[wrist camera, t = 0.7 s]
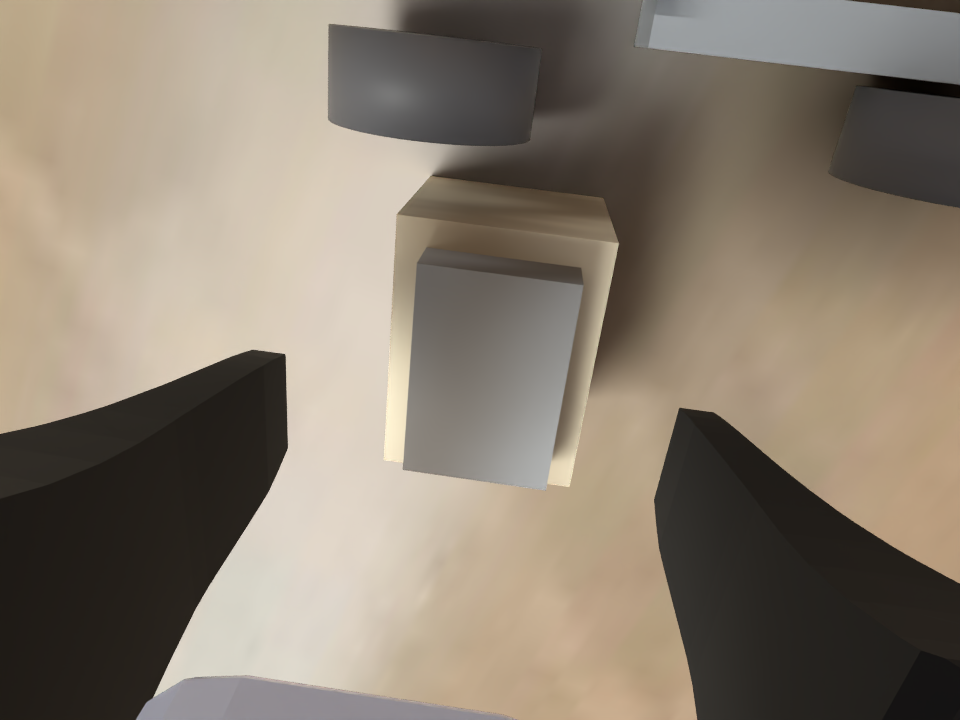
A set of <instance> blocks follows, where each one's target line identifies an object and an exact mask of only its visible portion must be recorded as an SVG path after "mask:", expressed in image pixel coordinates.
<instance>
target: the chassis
mask: <svg viewBox="0 0 960 720" xmlns="http://www.w3.org/2000/svg"><path fill="white" fill-rule="evenodd" d="M634 47H641V48H649V49H658V50H666V51H675V52H683V53H692V54H700V55H709V56H717V57H726V58H734V59H743V60H751V61H760V62H768V63H777V64H785V65H794V66H802V67H811V68H819V69H828V70H836V71H845V72H853V73H862V74H870V75H879V76H887V77H896V78H904V79H913V80H921V81H930V82H938V83H947V84H955V85H960V13H953V12H945V11H936V10H927V9H918V8H909V7H901V6H892V5H883V4H874V3H865V2H857V1H848V0H643V1H642V6H641V12H640V17H639V22H638V28H637V33H636V38H635V44H634ZM541 53H542V49H540V48H534V47H527V46H520V45H512V44H504V43H496V42H488V41H480V40H472V39H464V38H455V37H447V36H438V35H430V34H421V33H412V32H403V31H394V30H385V29H376V28H367V27H357V26H347V25H336V24H329V48H328V120H329V121H330V122H332V123H334V124H336V125H338V126H341V127H344V128H347V129H351V130H355V131H359V132H364V133H368V134H373V135H379V136H384V137H391V138H397V139H404V140H412V141H420V142H429V143H440V144H453V145H471V146H505V145H516V144H522V143H526V142H528V141H529V140H530V136H531V128H532V121H533V113H534V106H535V98H536V91H537V83H538V76H539V68H540V61H541ZM828 172H829V174H831V175H832V176H834V177H836V178H838V179H841V180H843V181H846V182H849V183H852V184H855V185H858V186H862V187H865V188H869V189H873V190H877V191H881V192H884V193H889V194H893V195H897V196H902V197H906V198H911V199H915V200H920V201H925V202H930V203H935V204H941V205H946V206H952V207H958V208H960V97H953V96H945V95H937V94H929V93H920V92H912V91H903V90H894V89H885V88H876V87H867V86H856V88H855V91H854V94H853V97H852V100H851V103H850V106H849V109H848V113H847V116H846V119H845V122H844V125H843V128H842V131H841V134H840V137H839V140H838V143H837V146H836V149H835V152H834V155H833V158H832V161H831V164H830V167H829V170H828Z"/></svg>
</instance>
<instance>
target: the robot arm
mask: <svg viewBox="0 0 960 720" xmlns="http://www.w3.org/2000/svg"><path fill="white" fill-rule="evenodd" d="M287 449H288V436H287V397H286V357H285V354H280V353H272V352H265V351H258V350H251V351H247V352H244V353H241V354H238V355H235V356H232V357H230V358H227V359H225V360H222V361H220V362H217V363H215V364H212V365H210V366H208V367H205V368H203V369H201V370H198V371H196V372H193V373H191V374H188V375H186V376H184V377H181V378H179V379H176V380H174V381H172V382H169V383H167V384H164V385H162V386H159V387H156V388H154V389H151V390H148V391H146V392H143V393H140V394H138V395H135V396H132V397H130V398H127V399H124V400H122V401H119V402H116V403H114V404H111V405H108V406H105V407H102V408H99V409H96V410H92V411H89V412H86V413H83V414H79V415H76V416H72V417H69V418H65V419H62V420H58V421H54V422H51V423H47V424H43V425H39V426H35V427H31V428H26V429H21V430H17V431H12V432H7V433H3V434H0V720H517V719H514V718H511V717H509V716H506V715H502V714H496V713H489V712H483V711H476V710H470V709H463V708H457V707H450V706H444V705H437V704H431V703H424V702H418V701H411V700H404V699H398V698H391V697H385V696H378V695H372V694H365V693H359V692H352V691H346V690H339V689H333V688H326V687H320V686H313V685H307V684H300V683H294V682H287V681H281V680H274V679H267V678H261V677H254V676H248V675H244V676H215V677H194V678H189V679H184V680H182V681H181V682H179V683H177V684H176V685H174V686H172V687H171V688H169V689H167V690H166V691H164V692H162V693H161V694H159V695H157V696H156V697H154V698H153V696H154V694H155V692H156V690H157V688H158V686H159V684H160V681H161V679H162V677H163V675H164V673H165V671H166V668H167V666H168V664H169V662H170V660H171V658H172V656H173V654H174V652H175V650H176V648H177V646H178V644H179V641H180V639H181V637H182V635H183V633H184V631H185V629H186V627H187V625H188V623H189V621H190V619H191V617H192V615H193V613H194V611H195V609H196V607H197V606H198V604H199V602H200V600H201V599H202V597H203V595H204V593H205V592H206V590H207V588H208V587H209V585H210V583H211V582H212V580H213V579H214V577H215V576H216V574H217V572H218V571H219V569H220V568H221V566H222V565H223V563H224V562H225V560H226V558H227V557H228V555H229V554H230V552H231V551H232V549H233V547H234V546H235V544H236V543H237V541H238V540H239V538H240V537H241V535H242V533H243V532H244V530H245V529H246V527H247V526H248V524H249V522H250V521H251V519H252V518H253V516H254V514H255V513H256V511H257V510H258V508H259V506H260V505H261V503H262V502H263V500H264V498H265V497H266V495H267V493H268V492H269V490H270V488H271V485H272V483H273V481H274V479H275V477H276V475H277V472H278V470H279V468H280V465H281V463H282V461H283V458H284V456H285V454H286V451H287ZM654 503H655V514H656V526H657V534H658V543H659V549H660V554H661V558H662V562H663V566H664V570H665V574H666V578H667V582H668V586H669V590H670V594H671V598H672V602H673V606H674V609H675V613H676V617H677V621H678V625H679V629H680V633H681V637H682V640H683V644H684V648H685V652H686V656H687V661H688V665H689V670H690V675H691V680H692V685H693V692H694V699H695V706H696V713H697V720H960V584H959V583H957V582H955V581H954V580H952V579H950V578H948V577H946V576H944V575H942V574H941V573H939V572H937V571H935V570H933V569H931V568H929V567H928V566H926V565H924V564H922V563H920V562H918V561H916V560H915V559H913V558H911V557H909V556H908V555H906V554H904V553H903V552H901V551H899V550H897V549H896V548H894V547H892V546H891V545H889V544H888V543H886V542H884V541H883V540H881V539H880V538H878V537H877V536H875V535H873V534H872V533H870V532H869V531H867V530H865V529H864V528H862V527H861V526H859V525H858V524H856V523H854V522H853V521H852V520H850V519H849V518H847V517H846V516H844V515H843V514H841V513H840V512H838V511H837V510H836V509H834V508H833V507H832V506H830V505H829V504H828V503H826V502H825V501H824V500H822V499H821V498H819V497H818V496H817V495H815V494H814V493H813V492H811V491H810V490H809V489H807V488H806V487H805V486H804V485H802V484H801V483H800V482H798V481H797V480H796V479H795V478H793V477H792V476H791V475H790V474H788V473H787V472H786V471H785V470H784V469H782V468H781V467H780V466H779V465H778V464H776V463H775V462H774V461H773V460H771V459H770V458H769V457H768V456H767V455H766V454H764V453H763V452H762V451H761V450H760V449H759V448H757V447H756V446H755V445H754V444H753V443H751V442H750V441H749V440H748V439H747V438H746V437H744V436H743V435H742V434H741V433H740V432H739V431H737V430H736V429H735V428H734V427H733V426H731V425H730V424H729V423H728V422H726V421H725V420H724V419H722V418H721V417H720V416H718V415H717V414H715V413H714V412H706V411H699V410H691V409H684V408H679V411H678V415H677V418H676V422H675V426H674V429H673V433H672V437H671V440H670V444H669V448H668V451H667V455H666V459H665V462H664V466H663V469H662V473H661V477H660V480H659V484H658V488H657V491H656V495H655V499H654Z"/></svg>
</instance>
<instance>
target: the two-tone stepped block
mask: <svg viewBox="0 0 960 720" xmlns="http://www.w3.org/2000/svg"><path fill="white" fill-rule="evenodd" d="M618 245H619V242H618V239H617V236H616V233H615V231H614V228H613V225H612V222H611V219H610V216H609V213H608V210H607V207H606V204H605V201H604V198H600V197H592V196H585V195H577V194H569V193H561V192H553V191H545V190H537V189H530V188H522V187H514V186H506V185H498V184H490V183H482V182H475V181H467V180H459V179H451V178H443V177H435V176H430V178H429V179H428V180H427V181H426V182H425V183H424V184H423V185H422V187H421V188H420V189H419V190H418V191H417V192H416V193H415V194H414V196H413V197H412V198H411V199H410V200H409V201H408V202H407V203H406V205H405V206H404V207H403V208H402V209H401V210H400V211H399V212H398V214H397V219H396V239H395V258H394V277H393V296H392V315H391V334H390V353H389V372H388V391H387V411H386V430H385V449H384V460H387V461H393V462H400V463H403V470H408V471H415V472H421V473H428V474H435V475H442V476H449V477H456V478H463V479H470V480H477V481H484V482H490V483H497V484H504V485H511V486H518V487H525V488H532V489H539V490H546V487H547V484H552V485H559V486H566V487H569V486H570V482H571V477H572V472H573V467H574V462H575V457H576V452H577V447H578V442H579V437H580V432H581V427H582V422H583V418H584V413H585V408H586V403H587V398H588V393H589V388H590V383H591V378H592V373H593V368H594V363H595V358H596V353H597V349H598V344H599V339H600V334H601V329H602V324H603V319H604V314H605V309H606V304H607V299H608V294H609V289H610V285H611V280H612V275H613V270H614V265H615V260H616V255H617V250H618Z"/></svg>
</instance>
